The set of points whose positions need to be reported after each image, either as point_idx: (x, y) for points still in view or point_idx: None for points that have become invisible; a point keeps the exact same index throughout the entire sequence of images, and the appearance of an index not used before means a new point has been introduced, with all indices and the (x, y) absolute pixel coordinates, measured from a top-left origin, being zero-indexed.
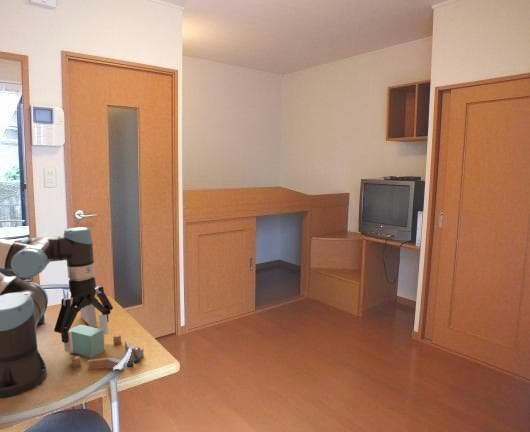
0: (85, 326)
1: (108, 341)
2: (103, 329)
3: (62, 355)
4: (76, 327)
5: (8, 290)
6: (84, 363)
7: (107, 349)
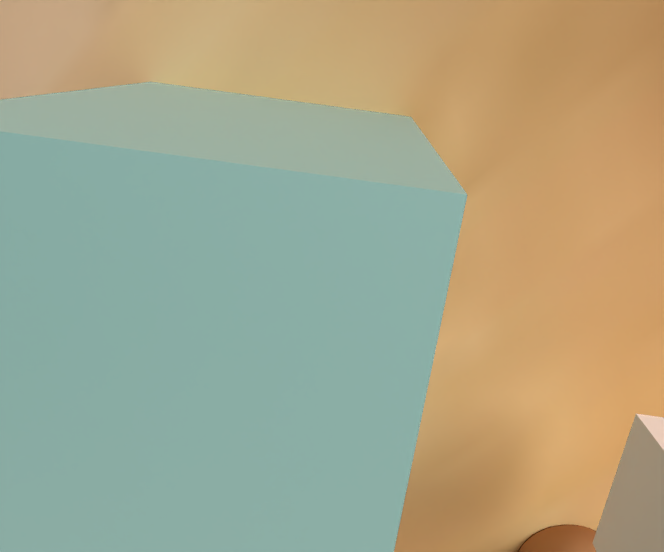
0: (357, 464)
1: (590, 435)
2: (645, 550)
3: None
4: (196, 244)
5: None
6: None
7: None
